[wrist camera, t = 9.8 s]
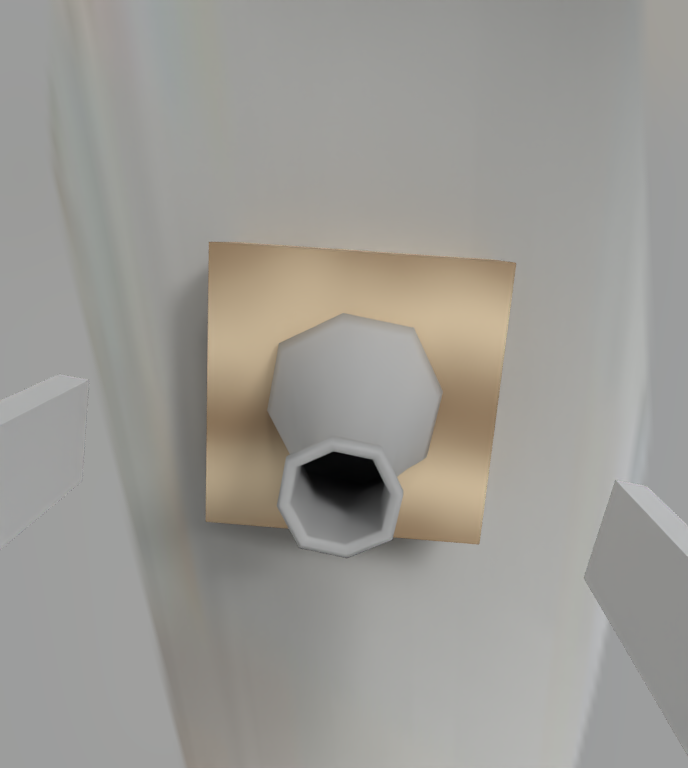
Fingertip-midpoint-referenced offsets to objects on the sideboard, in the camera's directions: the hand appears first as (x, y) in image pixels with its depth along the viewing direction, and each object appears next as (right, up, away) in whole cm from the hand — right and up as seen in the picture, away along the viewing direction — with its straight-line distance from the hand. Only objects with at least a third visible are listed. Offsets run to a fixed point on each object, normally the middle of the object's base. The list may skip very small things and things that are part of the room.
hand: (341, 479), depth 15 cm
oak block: (+1, +3, +15) cm, 15 cm away
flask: (+1, +2, +10) cm, 10 cm away
